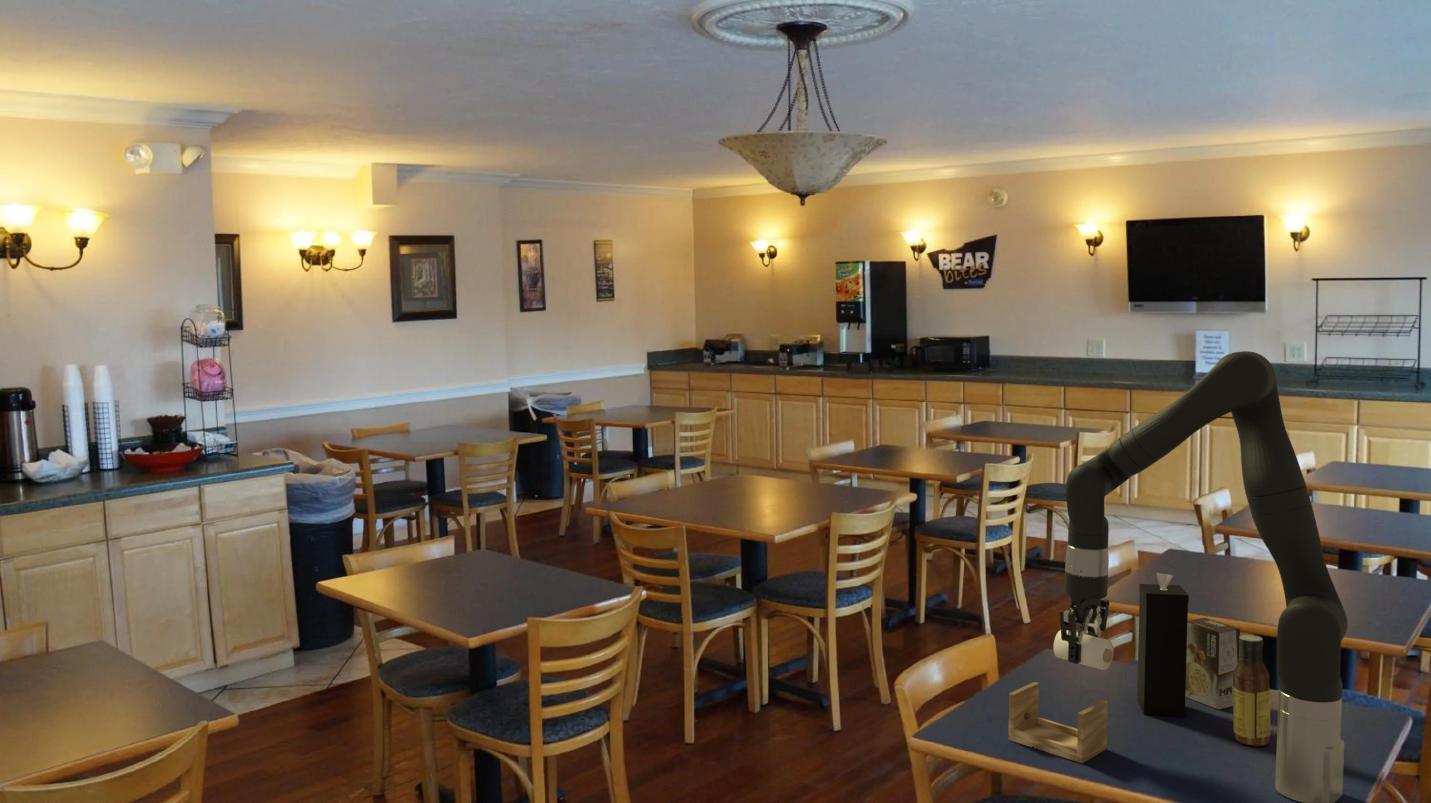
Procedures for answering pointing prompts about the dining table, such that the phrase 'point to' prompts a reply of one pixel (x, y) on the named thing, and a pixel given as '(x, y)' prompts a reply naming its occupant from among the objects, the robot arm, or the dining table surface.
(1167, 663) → the tissue box
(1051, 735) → the holder
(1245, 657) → the sauce bottle
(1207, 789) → the dining table surface
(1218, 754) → the dining table surface
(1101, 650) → the cylinder
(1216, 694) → the coffee box
